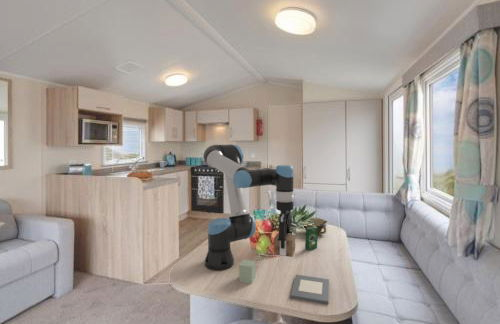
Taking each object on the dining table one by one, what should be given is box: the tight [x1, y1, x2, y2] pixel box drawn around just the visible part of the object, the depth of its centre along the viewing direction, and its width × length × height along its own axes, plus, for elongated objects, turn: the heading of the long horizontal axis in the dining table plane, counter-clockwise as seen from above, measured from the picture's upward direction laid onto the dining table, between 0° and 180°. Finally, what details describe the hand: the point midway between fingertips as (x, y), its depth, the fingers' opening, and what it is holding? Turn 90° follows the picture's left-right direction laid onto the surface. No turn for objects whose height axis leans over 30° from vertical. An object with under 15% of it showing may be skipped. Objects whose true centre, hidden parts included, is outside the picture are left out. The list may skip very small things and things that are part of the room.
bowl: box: [303, 216, 328, 235], centre depth 187 cm, size 18×18×10 cm
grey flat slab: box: [290, 274, 330, 305], centre depth 116 cm, size 15×18×1 cm
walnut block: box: [273, 232, 296, 258], centre depth 118 cm, size 8×8×7 cm
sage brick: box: [238, 258, 256, 285], centre depth 124 cm, size 6×6×8 cm
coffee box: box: [304, 226, 318, 251], centre depth 161 cm, size 8×3×13 cm, turn 123°
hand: (284, 251), depth 118 cm, fingers closed on walnut block, 8 cm apart
